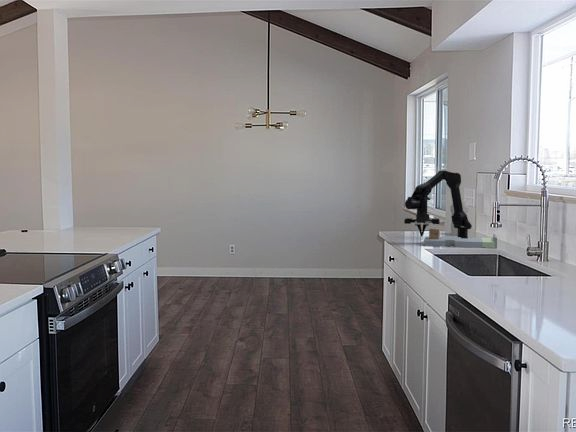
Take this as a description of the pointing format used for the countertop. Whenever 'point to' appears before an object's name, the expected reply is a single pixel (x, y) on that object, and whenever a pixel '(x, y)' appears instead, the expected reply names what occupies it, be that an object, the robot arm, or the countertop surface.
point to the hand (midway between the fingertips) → (421, 236)
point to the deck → (462, 242)
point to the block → (433, 233)
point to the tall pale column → (465, 208)
